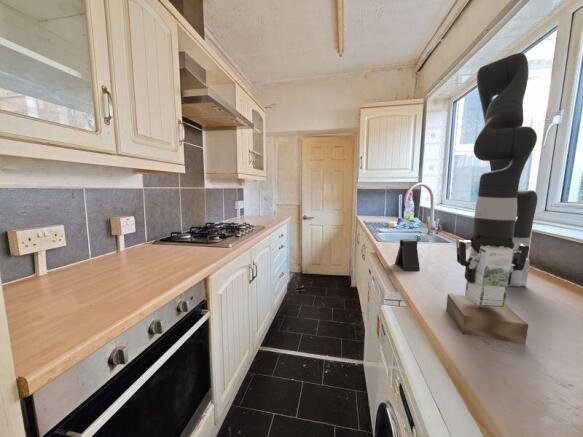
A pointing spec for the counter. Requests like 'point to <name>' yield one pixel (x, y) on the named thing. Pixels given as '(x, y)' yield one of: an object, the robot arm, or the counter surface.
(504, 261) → the syrup box
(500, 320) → the walnut block
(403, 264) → the phone stand
